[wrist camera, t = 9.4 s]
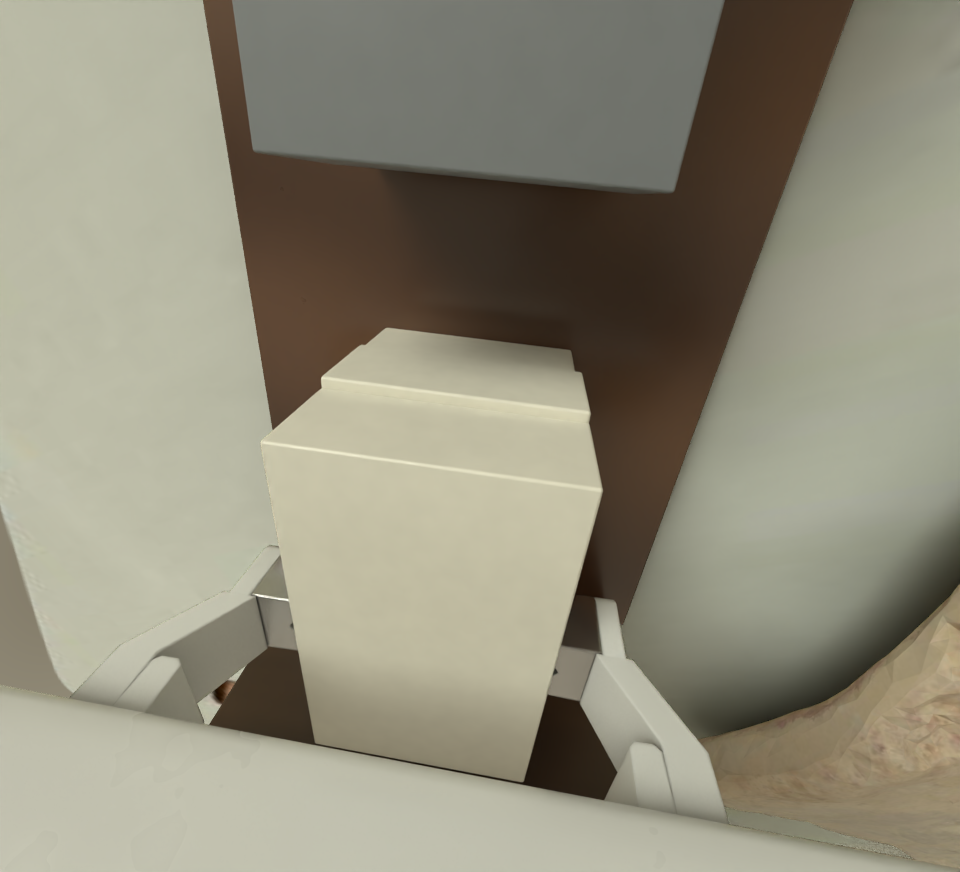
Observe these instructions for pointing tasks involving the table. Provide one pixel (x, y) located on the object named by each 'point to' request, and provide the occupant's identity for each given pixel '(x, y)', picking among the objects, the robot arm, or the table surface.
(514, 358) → the cream rectangular block
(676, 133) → the grey books
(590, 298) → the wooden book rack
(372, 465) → the ivory book
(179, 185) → the table surface
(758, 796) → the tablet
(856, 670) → the table surface
